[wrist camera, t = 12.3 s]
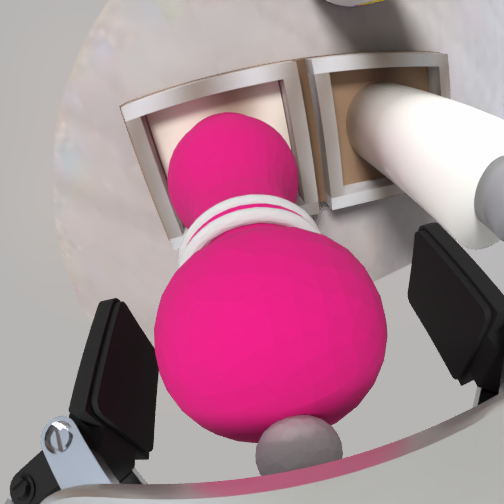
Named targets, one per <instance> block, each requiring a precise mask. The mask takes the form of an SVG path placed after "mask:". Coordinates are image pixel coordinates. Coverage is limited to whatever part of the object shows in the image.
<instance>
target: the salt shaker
mask: <svg viewBox="0 0 504 504" xmlns="http://www.w3.org/2000/svg"><path fill="white" fill-rule="evenodd" d="M346 133H347V137H348V140H349V142H350V144H351V146H352V148H353V149H354V150H355V152H356V153H357V154H358V155H360V156H361V157H362V158H363V159H365V160H366V161H367V162H368V163H370V164H371V165H372V166H374V167H375V168H376V169H377V170H379V171H380V172H381V173H382V174H384V175H385V176H386V177H387V178H388V179H390V180H391V181H392V182H393V183H394V184H396V185H397V186H398V187H399V188H400V189H402V190H403V191H404V192H405V193H406V194H407V195H409V196H410V197H411V198H412V199H413V200H414V201H415V202H417V203H418V204H419V205H420V206H421V207H422V208H423V209H424V210H425V211H427V212H428V213H429V214H430V215H431V216H432V217H433V218H434V219H435V220H436V221H437V222H438V223H440V224H441V225H442V226H443V227H444V228H445V229H446V230H447V231H448V232H449V233H450V234H451V235H452V236H453V237H454V238H455V239H456V240H457V241H458V242H459V243H460V244H461V245H463V246H464V247H466V248H469V249H475V250H477V249H483V248H487V247H489V246H491V245H493V244H495V243H496V242H498V241H499V240H502V241H504V120H502V119H500V118H498V117H495V116H493V115H491V114H488V113H486V112H483V111H481V110H478V109H476V108H473V107H470V106H468V105H465V104H462V103H459V102H457V101H454V100H451V99H448V98H445V97H442V96H439V95H436V94H433V93H429V92H426V91H423V90H419V89H416V88H412V87H409V86H405V85H401V84H397V83H393V82H388V81H379V82H374V83H371V84H369V85H367V86H365V87H364V88H362V89H361V90H360V91H359V92H358V93H357V94H356V95H355V96H354V98H353V100H352V101H351V103H350V105H349V108H348V111H347V115H346Z"/></svg>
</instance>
